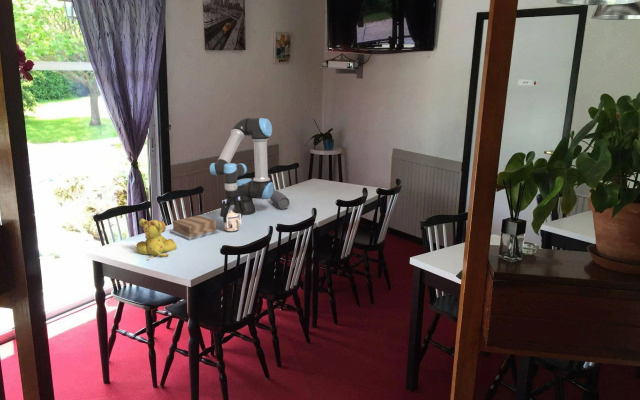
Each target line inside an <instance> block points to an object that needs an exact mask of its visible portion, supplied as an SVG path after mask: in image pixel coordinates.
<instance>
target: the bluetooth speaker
mask: <svg viewBox="0 0 640 400" xmlns="http://www.w3.org/2000/svg"><path fill="white" fill-rule="evenodd" d="M269 200H270V201H271V203H273V204H274V205H275V206H276V207H277V208H278V209H283V210H284V209H287V208H288V207H290V203H291V202H290V199H289V197H287V196H286V195H285V194H283V193H282V192H280V191H277V190H273V194H272V196H271V198H269Z"/></svg>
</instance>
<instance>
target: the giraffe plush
mask: <svg viewBox="0 0 640 400" xmlns="http://www.w3.org/2000/svg"><path fill="white" fill-rule="evenodd" d="M138 224H139V226H141V227H142V228H143V232H144V234H145V237H144V238H145V241H143V240H141V241H138V242H137V244H136V245H135V246H136V248H135V250H136V252H137V253H138V254H140V255H146V256H148V255H149V256H148V257H147V258H151V259H153V258H155V257H157V256H158V257H162V258H166V257H169V254H168V252H172V251H174V250H177V249H178V246H177V243H176V242H175V241H174V239H172V238H168V239H167V238H166V237H165V236H163V235H162V233H164V232H165V231H166V228H167V225H166V223H165V222H164V221H162V220H157V219H152V220H149V221H148V220H147V219H144V218H141V219H139V221H138ZM147 258H146V259H147ZM149 260H150V259H147V260H146V261H149Z"/></svg>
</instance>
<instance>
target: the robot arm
mask: <svg viewBox="0 0 640 400" xmlns="http://www.w3.org/2000/svg"><path fill="white" fill-rule="evenodd" d="M272 134H273V126H272V122H271V121H270V119H268V118H263V117H246V118H242V119H240V120H239V121H237V123H235V124H234V126H233V127H232V129H231V130H230V136H229V137H228V139H227V141H226V143H225V145H224V147H223V149H222V150H221V153H220V154H219V157H218V158H217V160H216V162H212V163H210V165H209V173H210V174H211V175H212V176H223V178H224V196H225V198H224V200H221V201H220V202H221V206H220V215H219V216H220V217H222V220H223V224H224V223H225V225H224V228H225V227H226V228H228V217H227V214H228V212H229V211H230V209H231V207H232V206H233V209H232V211H233V212H234V213H237V214H238V215H239V216H238V217H239V220H240V221H241V222H242V219H243V216H246V215H247V216H248V215H251V214H252V215H253V214H255V213H256V207H255V204H254V201H253V199H257V200H270V198H271V196H272V194H273V191H275V186H274V183H273V182H272V181H271V178H270V177H269V173H268V172H269V171H268V168H269V167H268V140H269V139H270V138H269V137H271V136H272ZM247 136H249V137H251V138H250V140H252V141H253V156H254V157H253V158H254V159H253V160H254V177H253V179H252V178H250V177H249V178H247V177H246V178H240V179H238V178H239V177H243V176H244V175H245V174H247V171H248V169H247V165H246V164H245V163H242V162H241V163H234V162H233V163H232V159H233V158H234V156H235V154H236V152H237V149H238V148H239V146H240V143H241V142H242V140H244V139H245V137H247Z"/></svg>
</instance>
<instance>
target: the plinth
mask: <svg viewBox="0 0 640 400" xmlns="http://www.w3.org/2000/svg"><path fill="white" fill-rule="evenodd" d="M169 233H170V234H171V235H174V236H177V237H178V238H180V239H181V238H182V239H184V240H187V241H188V242H189V241H190V242H191V241H193V240H194V241H195V240H196V239H201V238H205V237H208V235H209V236H212V234H213V235H216V234H219V233H220V229H217V228H216V220H214V219H211V218H210V217H209V218H208V217H205V216H202V215H199V214H198V215H193V216H190V217H185V218H181V219H176V220H173V221H172V229H171V230H170V231H169Z"/></svg>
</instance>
